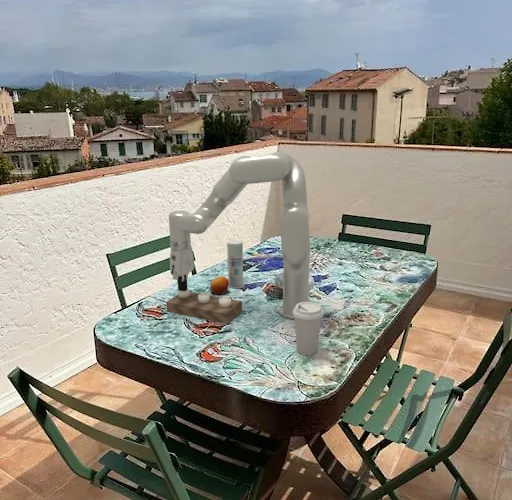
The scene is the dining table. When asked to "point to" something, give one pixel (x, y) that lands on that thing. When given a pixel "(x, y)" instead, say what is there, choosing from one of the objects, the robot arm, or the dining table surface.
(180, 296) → the knob far
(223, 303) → the knob near
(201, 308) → the mount
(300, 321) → the coffee cup
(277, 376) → the dining table surface
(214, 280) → the fruit
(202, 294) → the knob mid
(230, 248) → the spray can
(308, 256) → the robot arm
